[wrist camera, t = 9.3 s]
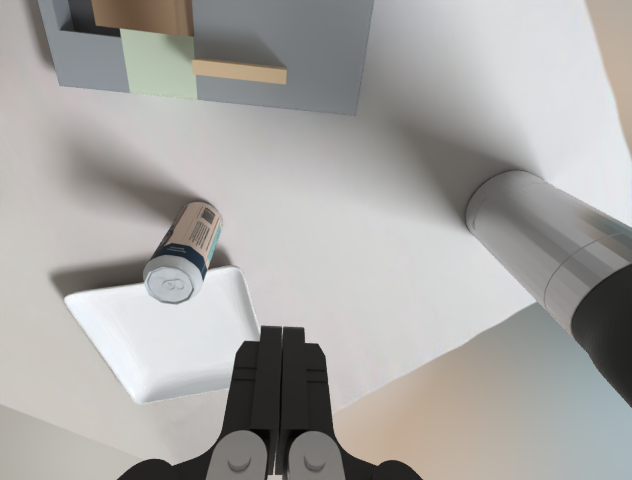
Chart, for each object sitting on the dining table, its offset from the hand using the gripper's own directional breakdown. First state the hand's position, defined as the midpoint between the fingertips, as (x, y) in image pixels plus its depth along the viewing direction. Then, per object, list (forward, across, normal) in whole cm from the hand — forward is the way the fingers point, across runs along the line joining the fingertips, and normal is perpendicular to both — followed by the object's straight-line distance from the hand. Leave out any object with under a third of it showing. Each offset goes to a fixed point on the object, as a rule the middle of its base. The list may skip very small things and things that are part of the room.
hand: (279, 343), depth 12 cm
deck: (+26, +7, -11) cm, 29 cm away
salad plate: (+26, +11, +26) cm, 39 cm away
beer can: (+26, +9, +9) cm, 29 cm away
